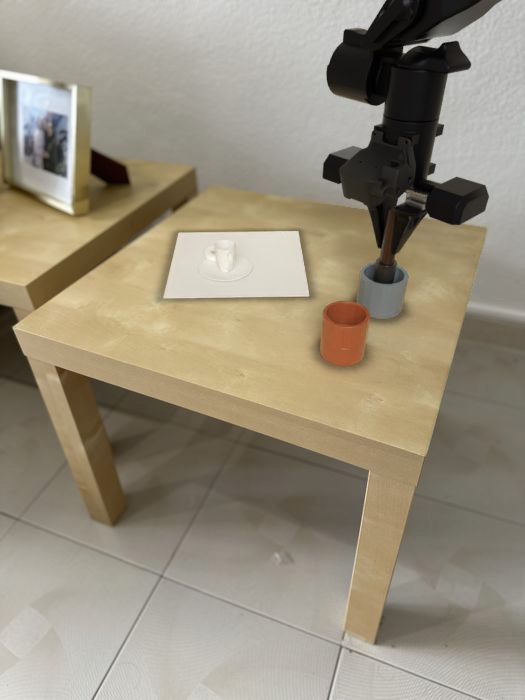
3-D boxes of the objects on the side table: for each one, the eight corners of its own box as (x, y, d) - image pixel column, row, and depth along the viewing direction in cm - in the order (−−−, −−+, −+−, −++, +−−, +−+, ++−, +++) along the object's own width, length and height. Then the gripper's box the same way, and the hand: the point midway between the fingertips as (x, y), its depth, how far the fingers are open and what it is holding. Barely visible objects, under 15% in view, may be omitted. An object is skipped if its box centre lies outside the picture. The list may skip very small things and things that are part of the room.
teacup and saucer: (201, 254, 79) (198, 230, 77) (252, 253, 79) (252, 229, 77) (196, 284, 72) (194, 258, 70) (252, 283, 72) (252, 258, 70)
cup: (410, 306, 68) (417, 274, 65) (383, 324, 65) (389, 291, 62) (374, 289, 71) (379, 257, 68) (346, 305, 68) (350, 272, 65)
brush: (396, 289, 66) (411, 208, 59) (383, 296, 65) (398, 214, 58) (379, 281, 68) (393, 201, 61) (367, 288, 66) (379, 207, 59)
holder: (373, 352, 60) (379, 314, 57) (344, 372, 58) (349, 333, 54) (339, 333, 63) (343, 295, 60) (310, 351, 61) (313, 312, 57)
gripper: (292, 111, 54) (288, 245, 64) (447, 153, 43) (414, 306, 53) (359, 94, 60) (346, 219, 70) (511, 128, 49) (470, 270, 59)
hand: (388, 250), depth 63 cm, fingers closed on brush, 2 cm apart
